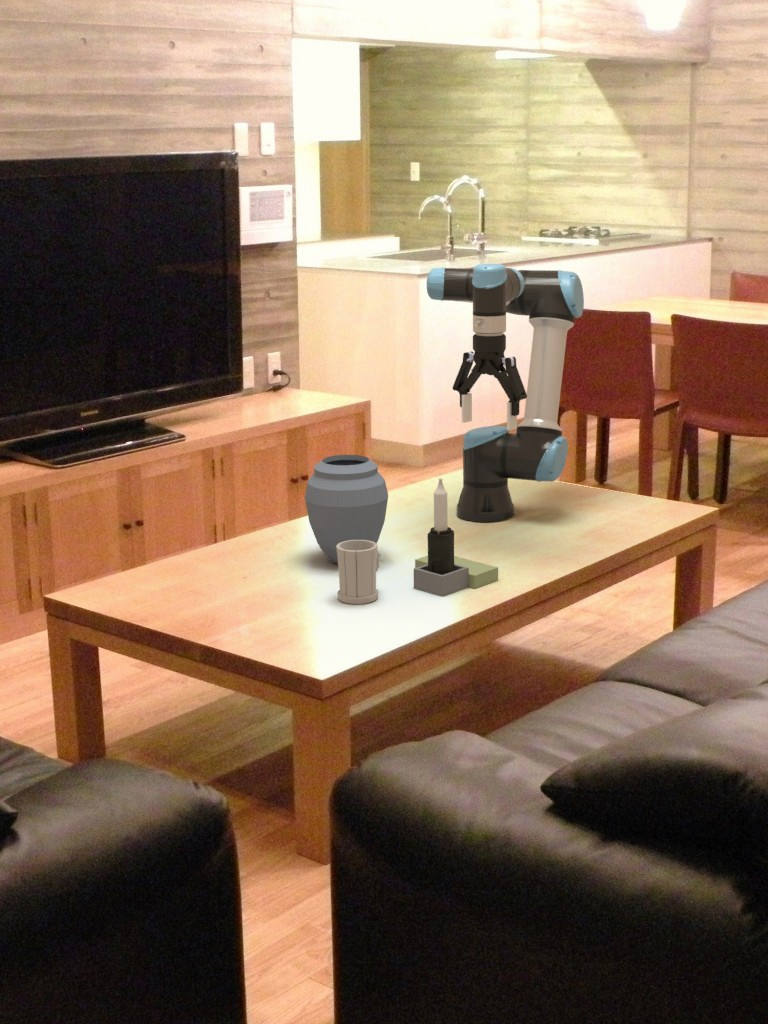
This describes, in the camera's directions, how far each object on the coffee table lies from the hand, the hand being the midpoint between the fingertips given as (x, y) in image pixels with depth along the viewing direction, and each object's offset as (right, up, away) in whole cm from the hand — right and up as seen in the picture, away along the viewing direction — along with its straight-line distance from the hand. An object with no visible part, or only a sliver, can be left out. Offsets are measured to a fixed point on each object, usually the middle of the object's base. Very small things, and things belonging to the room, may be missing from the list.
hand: (489, 425), depth 318 cm
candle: (-12, -37, -13) cm, 41 cm away
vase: (-33, -32, +8) cm, 46 cm away
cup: (-30, -39, -18) cm, 52 cm away
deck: (-11, -35, -8) cm, 38 cm away
